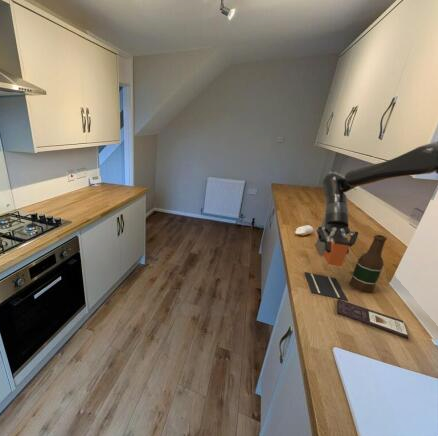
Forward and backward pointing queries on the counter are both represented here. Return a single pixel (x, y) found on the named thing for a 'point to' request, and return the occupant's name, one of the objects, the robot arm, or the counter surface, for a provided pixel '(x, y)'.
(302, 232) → the roll
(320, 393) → the counter surface
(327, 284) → the mat
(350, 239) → the robot arm
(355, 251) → the counter surface
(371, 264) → the beer bottle
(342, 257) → the box
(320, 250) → the flask
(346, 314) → the chocolate bar
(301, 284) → the counter surface
